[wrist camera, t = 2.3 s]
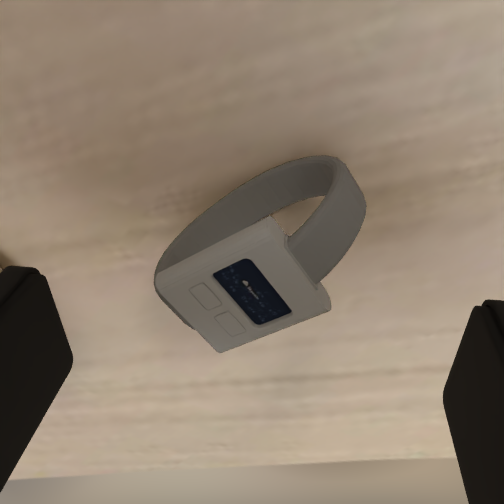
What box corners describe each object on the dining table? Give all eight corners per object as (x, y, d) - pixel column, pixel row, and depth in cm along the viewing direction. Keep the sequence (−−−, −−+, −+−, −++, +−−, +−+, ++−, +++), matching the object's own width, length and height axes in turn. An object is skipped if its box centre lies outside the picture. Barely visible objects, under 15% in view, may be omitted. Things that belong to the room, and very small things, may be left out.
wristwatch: (211, 263, 16) (177, 374, 12) (161, 205, 15) (106, 308, 11) (372, 183, 14) (395, 292, 10) (327, 106, 13) (333, 194, 9)
